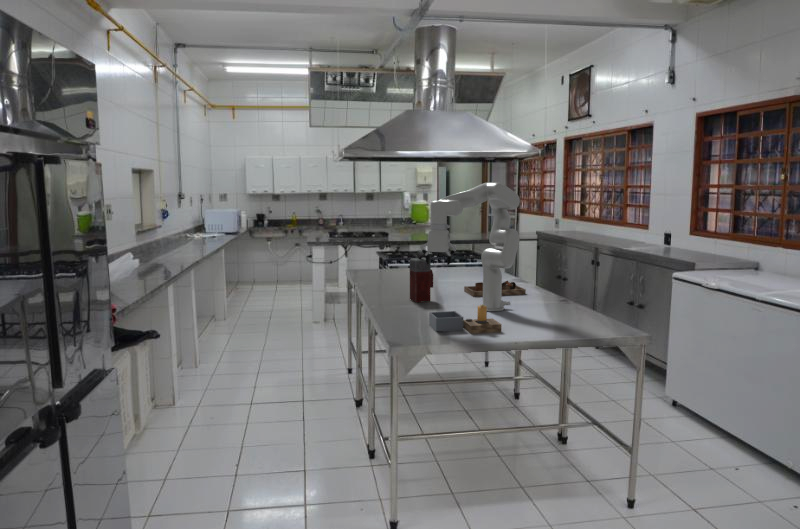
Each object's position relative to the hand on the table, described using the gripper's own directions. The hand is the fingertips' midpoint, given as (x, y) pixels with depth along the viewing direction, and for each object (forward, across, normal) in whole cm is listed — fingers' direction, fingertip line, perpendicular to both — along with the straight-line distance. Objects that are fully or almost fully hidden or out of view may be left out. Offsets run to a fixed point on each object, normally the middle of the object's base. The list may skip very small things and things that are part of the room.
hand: (438, 264), depth 265 cm
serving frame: (+27, -18, -76) cm, 83 cm away
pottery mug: (+27, -25, -79) cm, 88 cm away
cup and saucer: (+27, -11, -72) cm, 78 cm away
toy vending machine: (+27, +18, -44) cm, 55 cm away
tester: (+27, -22, +12) cm, 37 cm away
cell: (+26, -22, +12) cm, 36 cm away
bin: (+27, -6, +13) cm, 30 cm away
